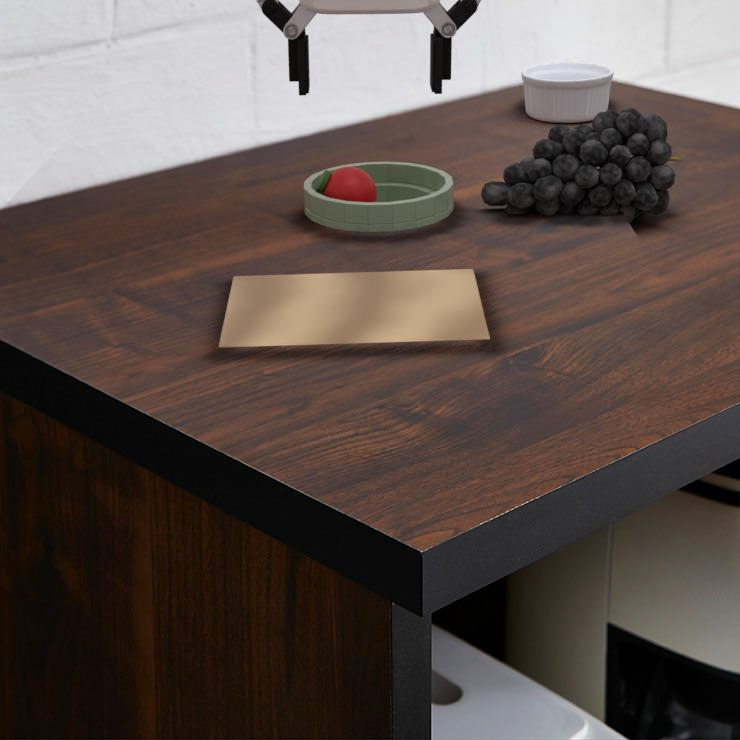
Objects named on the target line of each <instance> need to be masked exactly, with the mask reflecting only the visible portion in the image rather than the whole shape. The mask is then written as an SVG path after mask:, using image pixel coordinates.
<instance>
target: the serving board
mask: <svg viewBox="0 0 740 740" xmlns="http://www.w3.org/2000/svg"><path fill="white" fill-rule="evenodd" d="M487 324H488V323H487V320H486V315H485V311H484V308H483V303H482V300H481V294H480V291H479V286H478V283H477V279H476V274H475V270H474V269H473V268H459V269H458V268H456V269H455V268H454V269H427V270H425V269H424V270H395V271H393V270H392V271H391V270H390V271H362V272H361V271H359V272H358V271H357V272H327V273H326V272H325V273H323V272H322V273H294V274H263V275H234V276H232V281H231V286H230V291H229V295H228V300H227V305H226V310H225V314H224V320H223V323H222V328H221V332H220V337H219V341H218V342H219V343H218V348H220V349H221V348H249V347H253V348H254V347H282V346H283V347H284V346H315V345H345V344H346V345H349V344H351V345H353V344H380V343H381V344H382V343H415V342H417V343H418V342H445V341H446V342H447V341H478V340H479V341H481V340H482V341H483V340H491V337H490V332H489V329H488V325H487Z"/></svg>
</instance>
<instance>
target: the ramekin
mask: <svg viewBox="0 0 740 740" xmlns="http://www.w3.org/2000/svg"><path fill="white" fill-rule="evenodd" d="M614 73H615V71H614V69H613V67H611V66H608V65H606V64H602V63H595V62H587V61H586V62H585V61H553V62H543V63H537V64H532V65H529V66H526V67H524V68H523V69H522V70H521V72H520V74H521V80H522V81H523V93H524V94H523V95H524V105H525V106H524V107H525V113H526V115H528V117H530V118H532V119H534V120H537V121H541V122H545V123H552V124H553V123H556V124H575V123H576V124H577V123H586V122H592V121H593V119H594V117H595V116H596V115H597V114H598V113H599V112H605V111H607V110H609V102H610V94H611V85H612V80H613V78H614Z"/></svg>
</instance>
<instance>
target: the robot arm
mask: <svg viewBox="0 0 740 740" xmlns="http://www.w3.org/2000/svg"><path fill="white" fill-rule="evenodd" d="M255 1H256V2H257V4H258V6H259V7H260V9H261V13H262V14H263V15H264V16H265V17H266V18H267V19H268V20H269V21H270V22H271V23H272V25H274V26H275V27H276V28H277V29H278V30H279V31H280V32H281V33H282V34H283V36H284V37H285V38H286V39H287V52H288V54H287V55H288V81H289V82H290V83H291V82H292V83H293V82H298V96H307V94H310V87H311V86H310V81H311V80H310V79H311V78H310V43H309V41H310V40H309V34H307V32H306V28H307V27H308V25H309V24H310V23H311V21H312V20H313V19H314V18H315V17H316V15H317V14H318V15H405V14H407V15H408V14H422V13H423V14H424V16H425V17H426V18H427V19H428V21H429V22H430V23H431V24H432V25H433V30H432V33H430V34H429V35H430V37H429V40H430V41H429V50H430V51H429V86H430V90H431V93H434V94H435V95H442V94H443V81H450V80H452V54H453V53H452V50H453V49H452V48H453V45H452V43H453V37H454V36H456V34H457V31H458V30H459V29H461V27H462V26H464V24H465V23H466V22H468V20H469V19H470V18H471V17H472V16H473V15H475V14H476V13H477V11H478V8H479V5H480V4H481V2H482V0H457V1H456V2H455V3H454V4H453V5H452V6H451V7H450V8H449V9H448V10H447V9H446V8H445V7H444V6H443V4H442V3H441V0H298V1H299V2H298V4H297V5H296V6H295V8H294V9H293V10H292V11H291V10H289V9H288V8H287V7H286V6H285V5H284V4H283V3H282V2H281V1H280V0H255Z"/></svg>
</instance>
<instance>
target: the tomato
mask: <svg viewBox="0 0 740 740" xmlns="http://www.w3.org/2000/svg"><path fill="white" fill-rule="evenodd" d="M324 170H325V169H324ZM315 191H316V192H318V193H321V195H324V196H326V197H329V198H333V199H339V200H344V201H353V202H368V203H370V202H376V199H377V190H376V186H375V183H374V181H373V180H372V178H371V177H370V176H369V175H368V174H367V173H366V172H365V171H363V170H362V169H359V168H356V167H342V168H339V169H336V170H335V171H333V172H332V173H331V172H330V171H328V170H325V171H324V172H323V174H322V176H321V178H320V180H319V182H318V184H317V187H316V190H315Z"/></svg>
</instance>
